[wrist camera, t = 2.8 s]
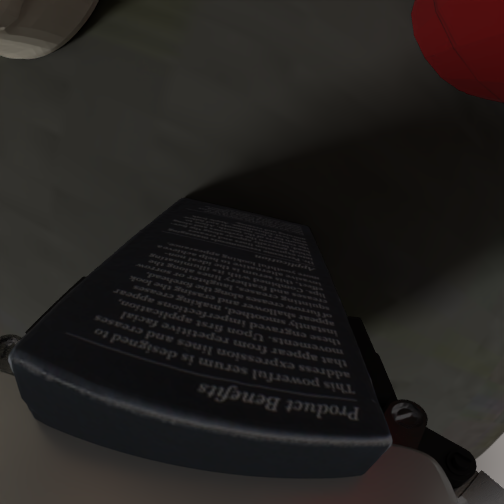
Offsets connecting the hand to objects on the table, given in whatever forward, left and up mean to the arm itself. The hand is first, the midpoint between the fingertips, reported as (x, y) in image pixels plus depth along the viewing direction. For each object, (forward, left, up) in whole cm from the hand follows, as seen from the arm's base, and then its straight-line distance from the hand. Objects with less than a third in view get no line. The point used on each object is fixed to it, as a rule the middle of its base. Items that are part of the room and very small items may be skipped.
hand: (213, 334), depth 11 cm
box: (0, 0, -4) cm, 4 cm away
